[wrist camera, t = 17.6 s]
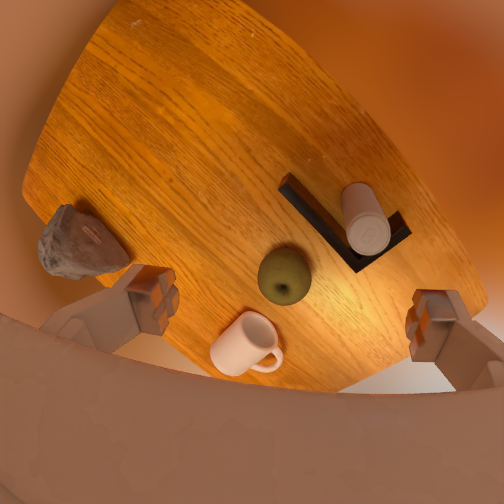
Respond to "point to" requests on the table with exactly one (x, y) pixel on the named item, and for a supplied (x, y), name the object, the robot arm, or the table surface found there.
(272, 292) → the apple
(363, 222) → the beverage can
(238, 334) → the mug
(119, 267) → the decorative rock
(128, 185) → the table surface
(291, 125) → the table surface
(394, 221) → the bracket
